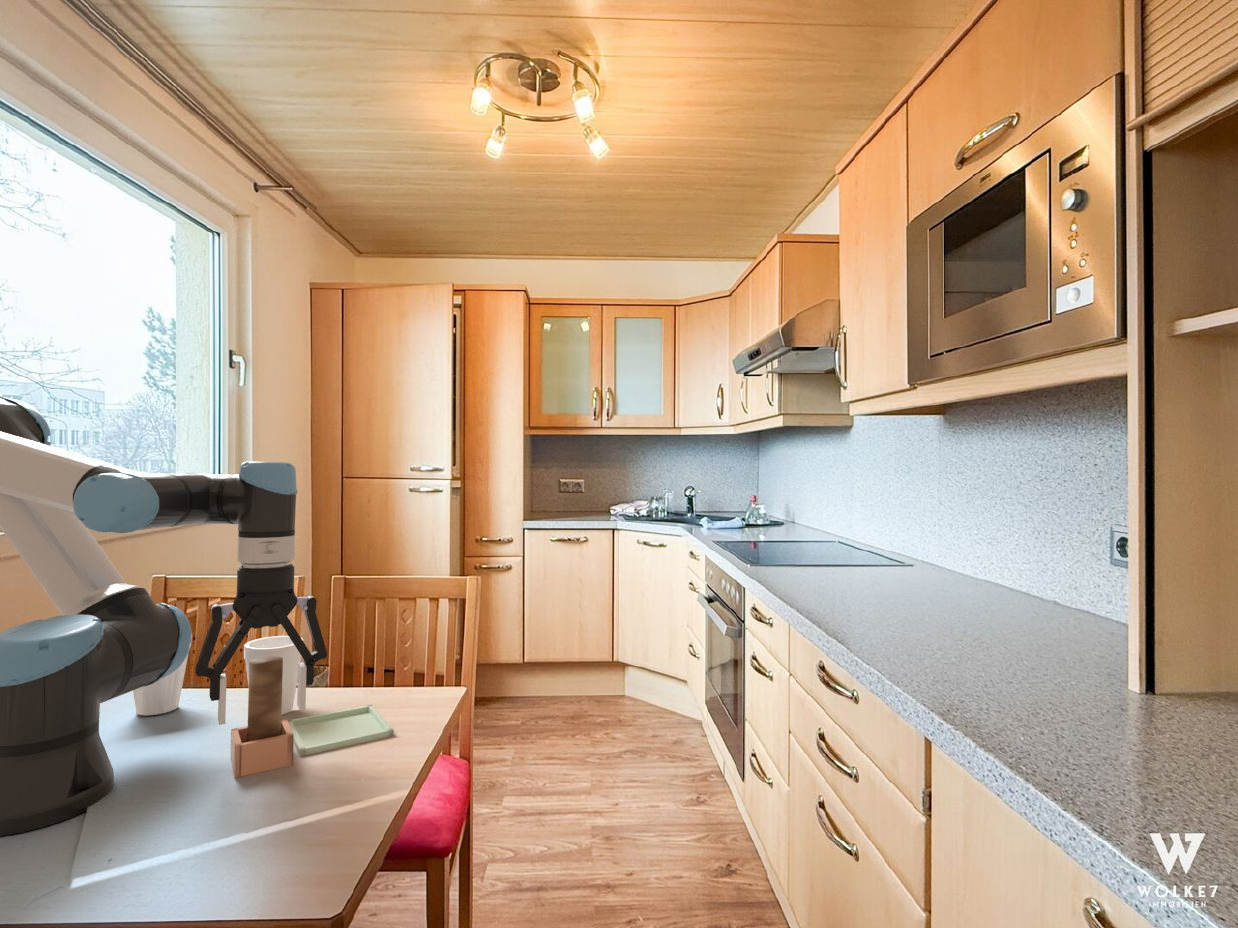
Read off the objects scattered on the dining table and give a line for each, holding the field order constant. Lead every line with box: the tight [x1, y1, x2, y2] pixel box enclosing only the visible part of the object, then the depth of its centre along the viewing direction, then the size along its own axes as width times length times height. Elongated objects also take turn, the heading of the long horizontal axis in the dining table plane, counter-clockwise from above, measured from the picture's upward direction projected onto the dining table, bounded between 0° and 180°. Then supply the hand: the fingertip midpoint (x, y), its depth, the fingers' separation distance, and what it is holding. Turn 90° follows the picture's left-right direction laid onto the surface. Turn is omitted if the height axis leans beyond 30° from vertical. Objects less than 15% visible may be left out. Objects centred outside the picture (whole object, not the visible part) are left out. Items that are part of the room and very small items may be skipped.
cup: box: [132, 641, 192, 716], centre depth 115 cm, size 10×10×13 cm
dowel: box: [247, 656, 283, 742], centre depth 95 cm, size 4×4×15 cm
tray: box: [287, 704, 395, 757], centre depth 106 cm, size 14×14×2 cm
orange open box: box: [230, 718, 294, 779], centre depth 94 cm, size 7×7×5 cm
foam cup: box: [243, 635, 304, 716], centre depth 115 cm, size 10×9×13 cm
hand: (262, 713), depth 94 cm, fingers open, 10 cm apart
